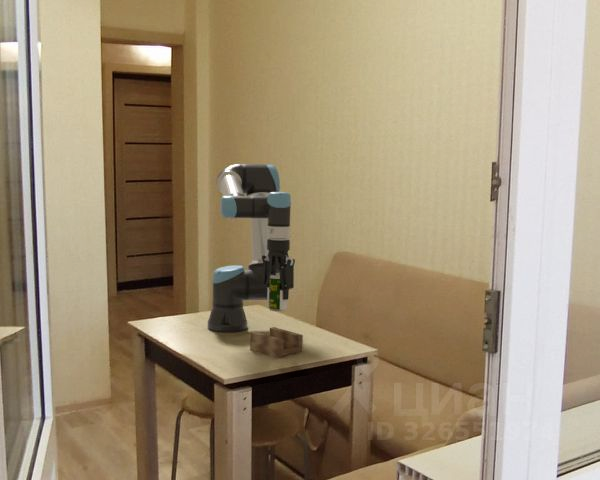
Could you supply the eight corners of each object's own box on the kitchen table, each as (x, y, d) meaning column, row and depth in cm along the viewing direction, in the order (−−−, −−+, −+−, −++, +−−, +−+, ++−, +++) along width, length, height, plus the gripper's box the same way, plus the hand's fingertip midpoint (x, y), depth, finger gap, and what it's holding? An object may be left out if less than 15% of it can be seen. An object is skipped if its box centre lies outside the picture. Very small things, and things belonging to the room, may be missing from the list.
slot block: (250, 349, 233) (250, 332, 232) (273, 343, 241) (273, 327, 240) (278, 358, 223) (279, 340, 223) (302, 352, 231) (302, 334, 231)
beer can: (276, 307, 234) (277, 272, 233) (288, 309, 230) (289, 274, 229) (265, 309, 230) (266, 274, 228) (277, 312, 226) (278, 276, 225)
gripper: (251, 236, 231) (250, 304, 234) (290, 242, 218) (288, 313, 221) (267, 235, 236) (266, 301, 239) (306, 240, 224) (304, 310, 226)
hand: (277, 307), depth 230 cm, fingers closed on beer can, 5 cm apart
